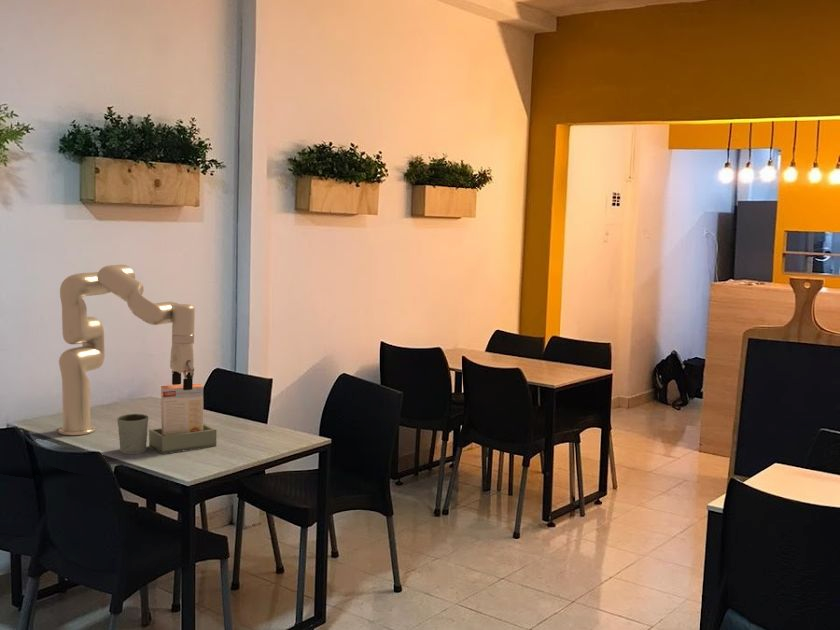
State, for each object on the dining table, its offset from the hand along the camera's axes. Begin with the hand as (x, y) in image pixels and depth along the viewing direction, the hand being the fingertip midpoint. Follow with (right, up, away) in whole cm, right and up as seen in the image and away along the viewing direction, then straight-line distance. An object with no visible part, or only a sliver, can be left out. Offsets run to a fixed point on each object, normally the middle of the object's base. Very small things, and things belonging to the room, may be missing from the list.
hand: (182, 387), depth 300 cm
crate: (0, -21, +2) cm, 21 cm away
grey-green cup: (-16, -22, -6) cm, 27 cm away
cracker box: (-1, -20, +2) cm, 21 cm away
